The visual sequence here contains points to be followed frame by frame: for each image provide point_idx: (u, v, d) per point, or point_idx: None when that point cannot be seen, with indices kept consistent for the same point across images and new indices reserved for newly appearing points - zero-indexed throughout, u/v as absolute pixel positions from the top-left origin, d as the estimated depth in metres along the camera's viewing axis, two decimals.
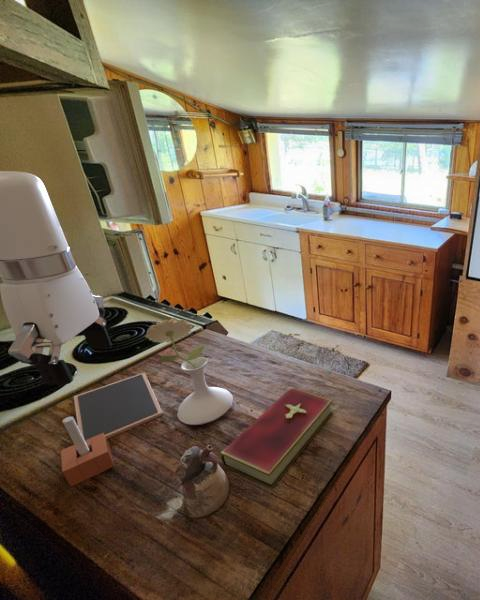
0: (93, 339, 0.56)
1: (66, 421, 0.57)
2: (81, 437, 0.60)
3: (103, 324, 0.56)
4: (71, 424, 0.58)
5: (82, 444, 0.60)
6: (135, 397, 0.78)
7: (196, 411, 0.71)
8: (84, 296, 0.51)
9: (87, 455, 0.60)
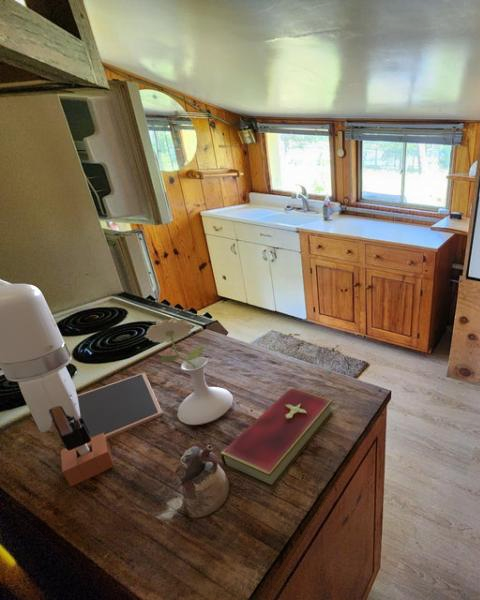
0: None
1: None
2: None
3: None
4: None
5: None
6: (135, 397, 0.78)
7: (196, 411, 0.71)
8: None
9: (87, 455, 0.60)
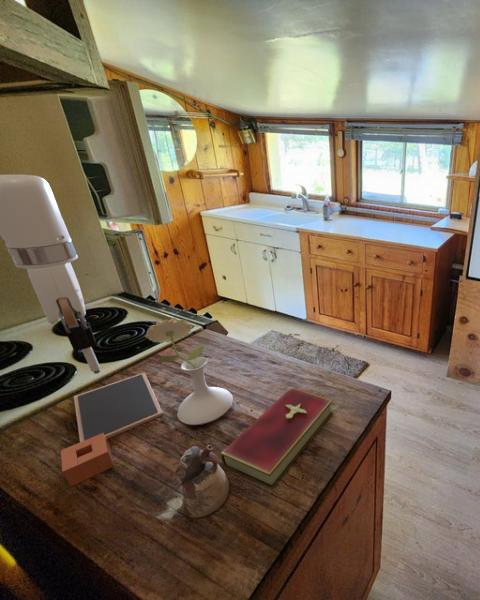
0: None
1: None
2: None
3: (85, 320, 0.62)
4: None
5: (88, 348, 0.62)
6: (135, 397, 0.78)
7: (196, 411, 0.71)
8: None
9: (87, 455, 0.60)
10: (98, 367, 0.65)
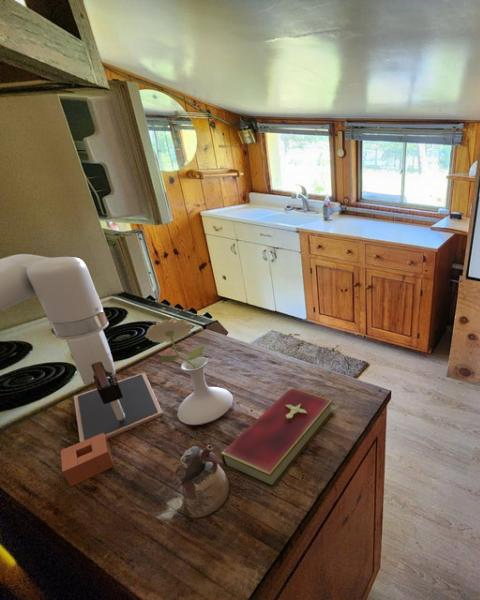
0: None
1: None
2: None
3: None
4: None
5: (115, 400, 0.69)
6: (135, 397, 0.78)
7: (196, 411, 0.71)
8: None
9: (87, 455, 0.60)
10: (123, 416, 0.71)
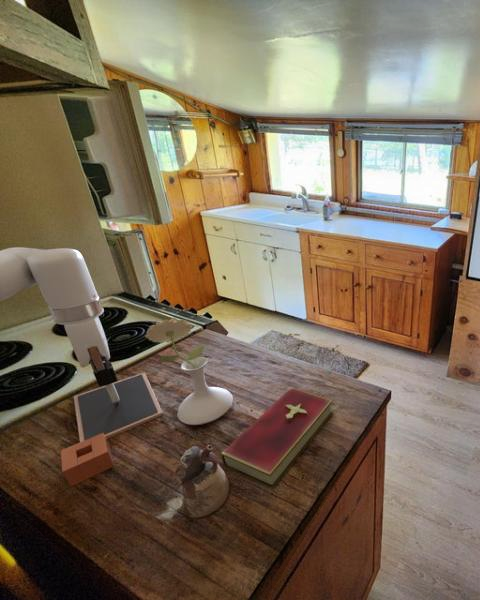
0: None
1: None
2: None
3: (108, 360, 0.74)
4: None
5: None
6: (135, 397, 0.78)
7: (196, 411, 0.71)
8: None
9: (87, 455, 0.60)
10: (118, 398, 0.76)
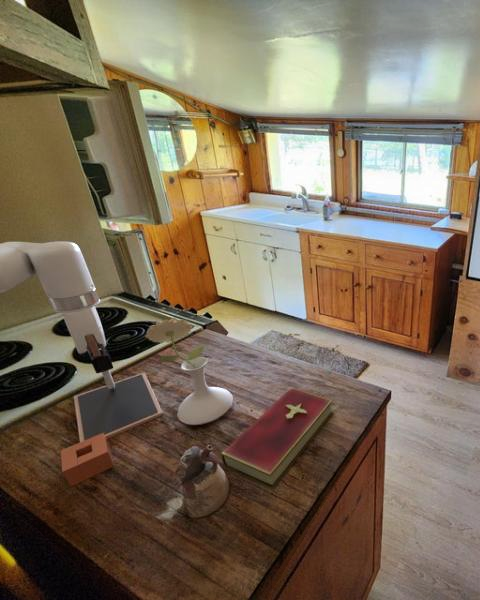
0: None
1: None
2: None
3: (104, 348, 0.78)
4: None
5: None
6: (135, 397, 0.78)
7: (196, 411, 0.71)
8: None
9: (87, 455, 0.60)
10: (113, 385, 0.80)
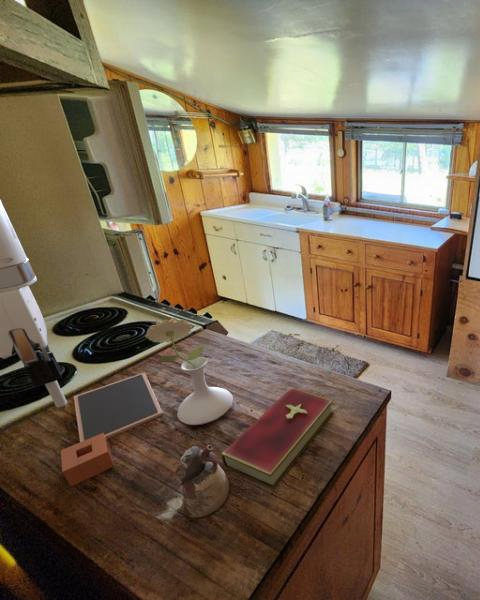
0: None
1: None
2: None
3: (48, 350, 0.54)
4: None
5: None
6: (135, 397, 0.78)
7: (196, 411, 0.71)
8: (37, 304, 0.52)
9: (87, 455, 0.60)
10: (64, 402, 0.56)
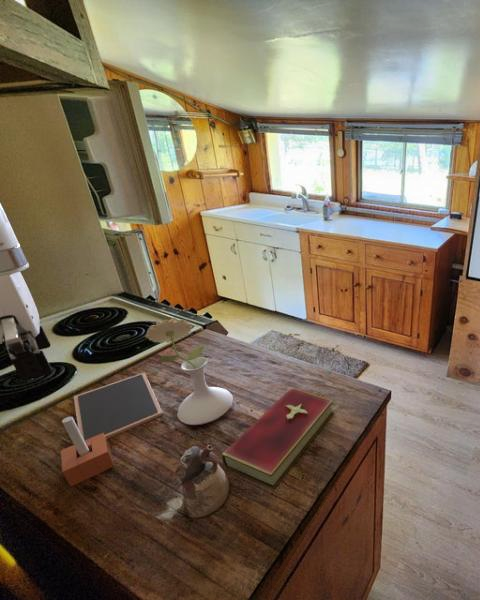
0: None
1: (65, 421, 0.57)
2: (80, 437, 0.60)
3: None
4: (70, 424, 0.58)
5: (81, 444, 0.60)
6: (135, 397, 0.78)
7: (196, 411, 0.71)
8: (29, 292, 0.51)
9: (87, 455, 0.60)
10: None
